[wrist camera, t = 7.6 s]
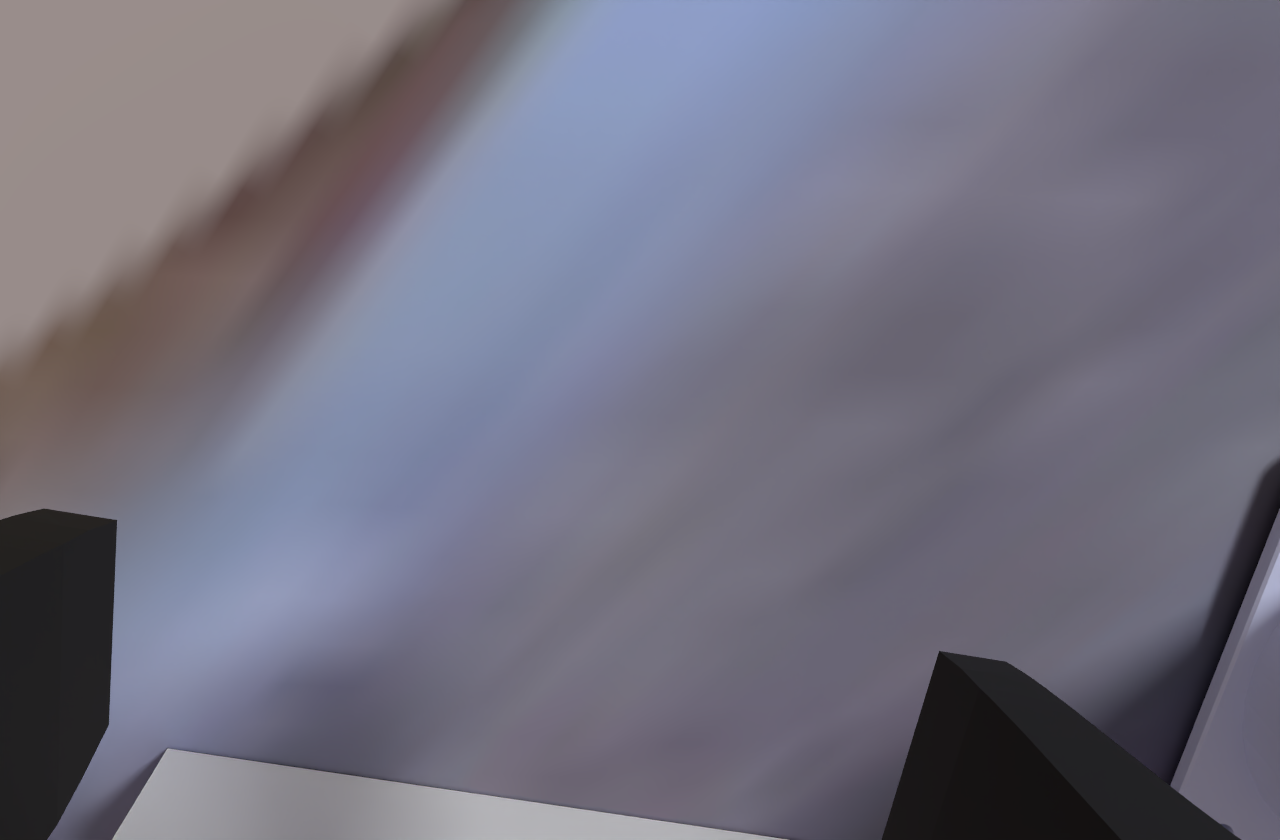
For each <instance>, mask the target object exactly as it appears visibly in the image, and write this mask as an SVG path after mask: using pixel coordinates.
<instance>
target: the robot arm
mask: <svg viewBox="0 0 1280 840" xmlns="http://www.w3.org/2000/svg"><path fill="white" fill-rule="evenodd" d="M116 531H117V520H112V519H106V518H100V517H93V516H87V515H81V514H74V513H68V512H62V511H56V510H49V509H41V510H36V511H31V512H27V513H23V514H19V515H15V516H12V517H8V518H5V519H2V520H0V840H47V839H48V837H49V836H50V834H51V833H52V831H53V830H54V828H55V827H56V825H57V824H58V822H59V820H60V818H61V816H62V815H63V813H64V811H65V809H66V807H67V805H68V803H69V802H70V800H71V798H72V796H73V794H74V792H75V790H76V789H77V787H78V785H79V783H80V781H81V779H82V777H83V775H84V773H85V771H86V769H87V767H88V765H89V763H90V761H91V759H92V757H93V755H94V753H95V751H96V749H97V747H98V745H99V743H100V741H101V739H102V737H103V735H104V733H105V731H106V729H107V727H108V725H109V705H110V680H111V655H112V630H113V606H114V581H115V556H116ZM1221 824H1222V825H1221ZM882 840H1280V509H1279V512H1278V514H1277V517H1276V519H1275V522H1274V524H1273V527H1272V529H1271V532H1270V534H1269V537H1268V539H1267V542H1266V545H1265V547H1264V550H1263V552H1262V555H1261V557H1260V560H1259V562H1258V565H1257V567H1256V570H1255V572H1254V575H1253V577H1252V580H1251V582H1250V585H1249V588H1248V590H1247V593H1246V595H1245V598H1244V600H1243V603H1242V605H1241V608H1240V610H1239V613H1238V615H1237V618H1236V620H1235V623H1234V625H1233V628H1232V631H1231V633H1230V636H1229V638H1228V641H1227V643H1226V646H1225V648H1224V651H1223V653H1222V656H1221V658H1220V661H1219V663H1218V666H1217V669H1216V671H1215V674H1214V676H1213V679H1212V681H1211V684H1210V686H1209V689H1208V691H1207V694H1206V696H1205V699H1204V701H1203V704H1202V706H1201V709H1200V712H1199V714H1198V717H1197V719H1196V722H1195V724H1194V727H1193V729H1192V732H1191V734H1190V737H1189V739H1188V742H1187V744H1186V747H1185V750H1184V752H1183V755H1182V757H1181V760H1180V762H1179V765H1178V767H1177V770H1176V772H1175V775H1174V777H1173V780H1172V782H1171V785H1168V784H1167V783H1166V782H1164V781H1163V780H1162V779H1161V778H1159V777H1158V776H1157V775H1155V774H1154V773H1153V772H1152V771H1150V770H1149V769H1148V768H1147V767H1145V766H1144V765H1143V764H1142V763H1140V762H1139V761H1138V760H1136V759H1135V758H1134V757H1133V756H1131V755H1130V754H1129V753H1128V752H1126V751H1125V750H1124V749H1123V748H1121V747H1120V746H1119V745H1118V744H1116V743H1115V742H1114V741H1113V740H1111V739H1110V738H1109V737H1108V736H1106V735H1105V734H1104V733H1102V732H1101V731H1100V730H1099V729H1097V728H1096V727H1095V726H1094V725H1092V724H1091V723H1090V722H1089V721H1087V720H1086V719H1085V718H1084V717H1082V716H1081V715H1080V714H1079V713H1077V712H1076V711H1075V710H1073V709H1072V708H1071V707H1070V706H1068V705H1067V704H1066V703H1064V702H1063V701H1062V700H1061V699H1059V698H1058V697H1057V696H1055V695H1054V694H1053V693H1051V692H1050V691H1049V690H1047V689H1046V688H1045V687H1043V686H1042V685H1041V684H1039V683H1038V682H1036V681H1035V680H1034V679H1032V678H1031V677H1029V676H1028V675H1026V674H1025V673H1023V672H1022V671H1020V670H1019V669H1017V668H1015V667H1014V666H1012V665H1010V664H1009V663H1007V662H1004V661H998V660H992V659H986V658H979V657H973V656H967V655H960V654H954V653H948V652H942V651H939V654H938V657H937V660H936V663H935V667H934V670H933V673H932V677H931V680H930V683H929V686H928V690H927V693H926V696H925V700H924V703H923V706H922V709H921V713H920V716H919V719H918V723H917V726H916V729H915V732H914V736H913V739H912V742H911V746H910V749H909V752H908V755H907V759H906V762H905V765H904V769H903V772H902V775H901V778H900V782H899V785H898V788H897V792H896V795H895V798H894V801H893V805H892V808H891V811H890V815H889V818H888V821H887V824H886V828H885V831H884V834H883V838H882Z"/></svg>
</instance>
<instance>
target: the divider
mask: <svg viewBox="0 0 1280 840" xmlns="http://www.w3.org/2000/svg"><path fill="white" fill-rule="evenodd" d="M112 840H788V839H781V838H774V837H767V836H760V835H754V834H747V833H740V832H733V831H726V830H720V829H713V828H706V827H699V826H692V825H685V824H679V823H672V822H665V821H658V820H651V819H645V818H638V817H631V816H624V815H617V814H611V813H604V812H597V811H590V810H583V809H576V808H570V807H563V806H556V805H549V804H542V803H536V802H529V801H522V800H515V799H508V798H501V797H495V796H488V795H481V794H474V793H467V792H461V791H454V790H447V789H440V788H433V787H427V786H420V785H413V784H406V783H399V782H392V781H386V780H379V779H372V778H365V777H358V776H352V775H345V774H338V773H331V772H324V771H317V770H311V769H304V768H297V767H290V766H283V765H277V764H270V763H263V762H256V761H249V760H243V759H236V758H229V757H222V756H215V755H208V754H202V753H195V752H188V751H181V750H174V749H168V748H167V750H166V752H165V753H164V755H163V757H162V758H161V760H160V761H159V763H158V765H157V766H156V768H155V770H154V771H153V773H152V775H151V776H150V778H149V780H148V781H147V783H146V784H145V786H144V788H143V789H142V791H141V793H140V794H139V796H138V798H137V799H136V801H135V803H134V804H133V806H132V807H131V809H130V811H129V812H128V814H127V816H126V817H125V819H124V821H123V822H122V824H121V826H120V827H119V829H118V830H117V832H116V834H115V835H114V837H113V839H112Z"/></svg>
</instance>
